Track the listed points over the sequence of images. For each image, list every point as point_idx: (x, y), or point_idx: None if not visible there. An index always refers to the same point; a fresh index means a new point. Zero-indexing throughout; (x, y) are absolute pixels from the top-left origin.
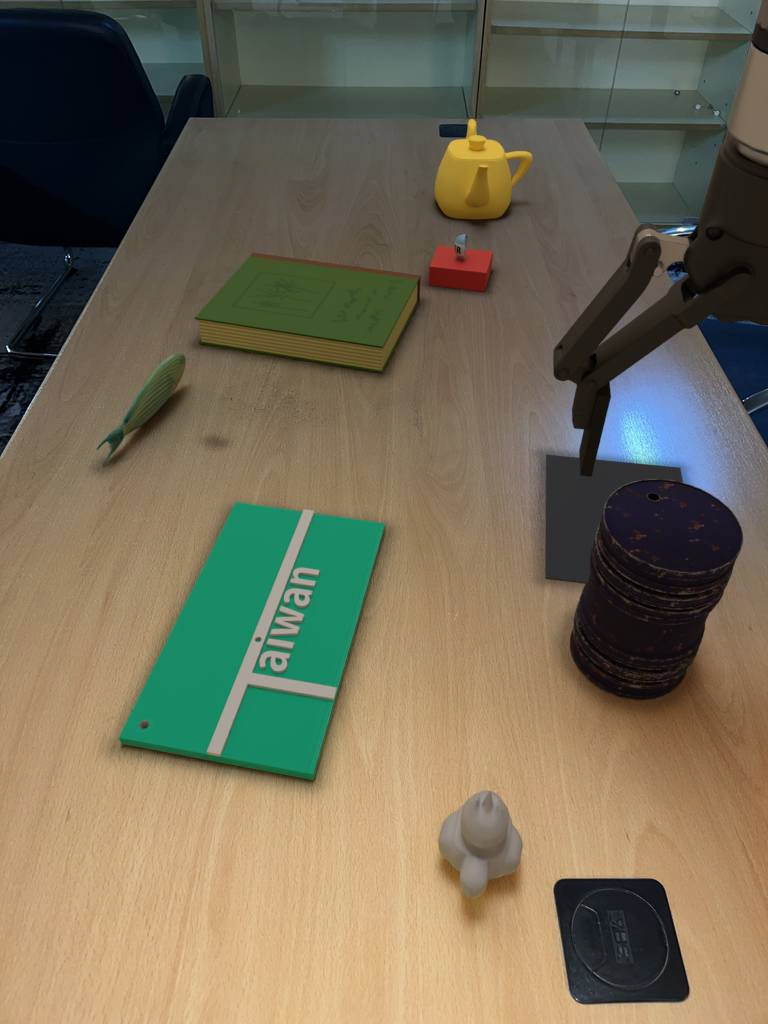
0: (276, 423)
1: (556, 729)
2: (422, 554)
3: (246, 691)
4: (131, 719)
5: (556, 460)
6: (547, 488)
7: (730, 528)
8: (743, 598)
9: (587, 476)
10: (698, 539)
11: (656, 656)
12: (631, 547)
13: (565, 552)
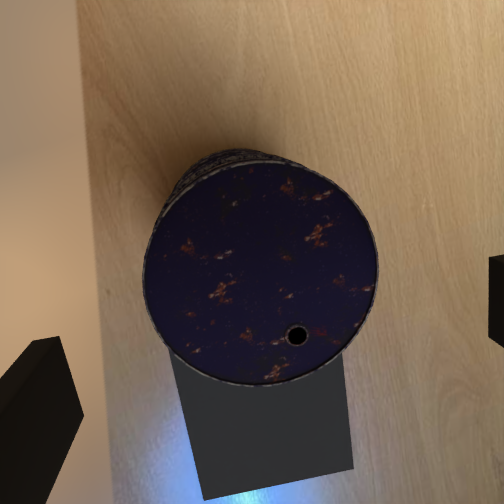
0: None
1: (301, 84)
2: (469, 278)
3: None
4: None
5: (341, 463)
6: (347, 419)
7: (164, 304)
8: (118, 332)
9: (305, 451)
10: (217, 259)
11: (220, 157)
12: (328, 202)
13: None
